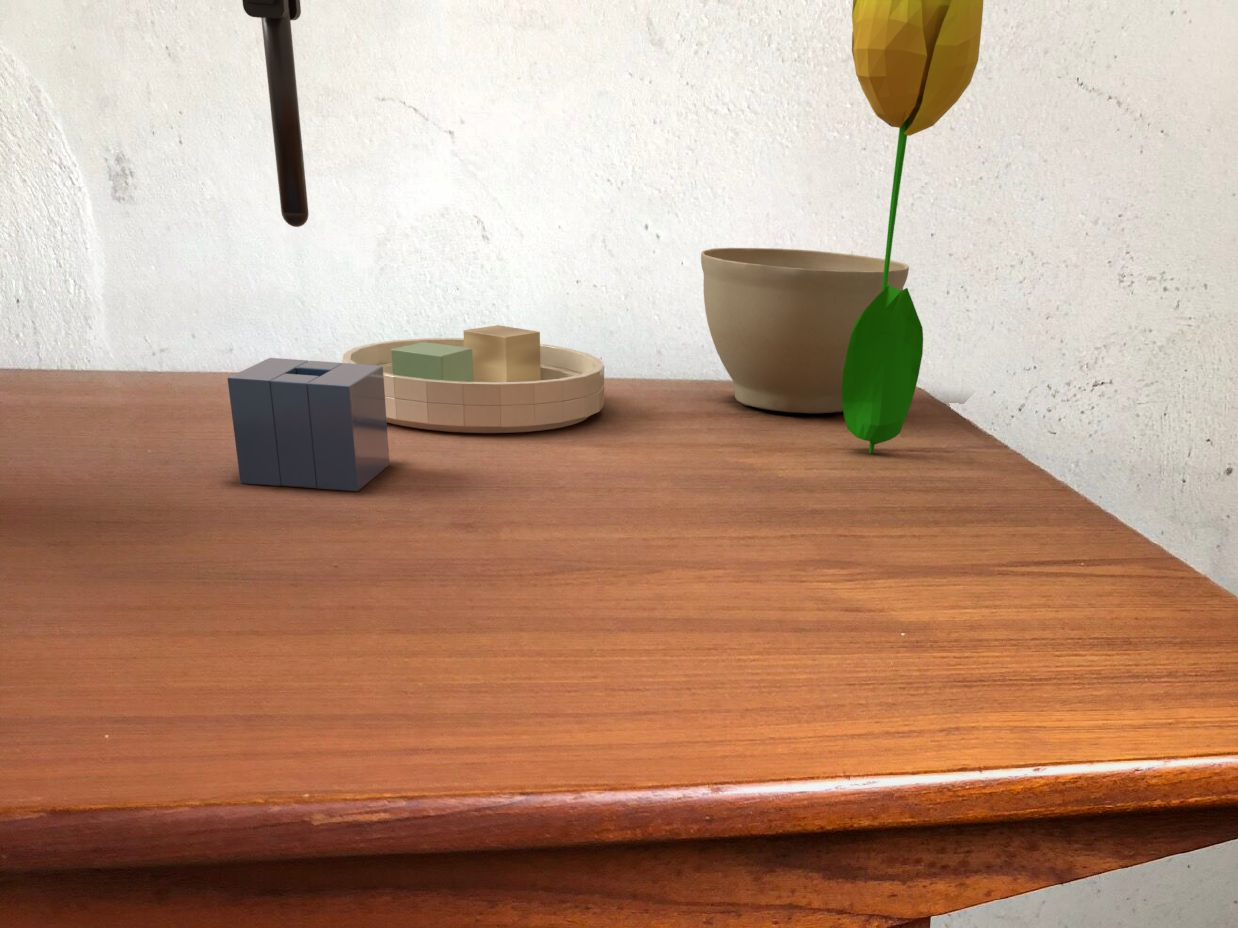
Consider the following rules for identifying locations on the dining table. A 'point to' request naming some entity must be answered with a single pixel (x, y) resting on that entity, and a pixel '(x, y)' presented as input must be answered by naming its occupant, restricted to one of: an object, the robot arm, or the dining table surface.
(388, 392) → the cream bowl
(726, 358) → the planter bowl
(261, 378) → the stick holder
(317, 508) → the dining table surface
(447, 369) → the sage block
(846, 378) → the flower
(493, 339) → the birch block
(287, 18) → the stirring stick
